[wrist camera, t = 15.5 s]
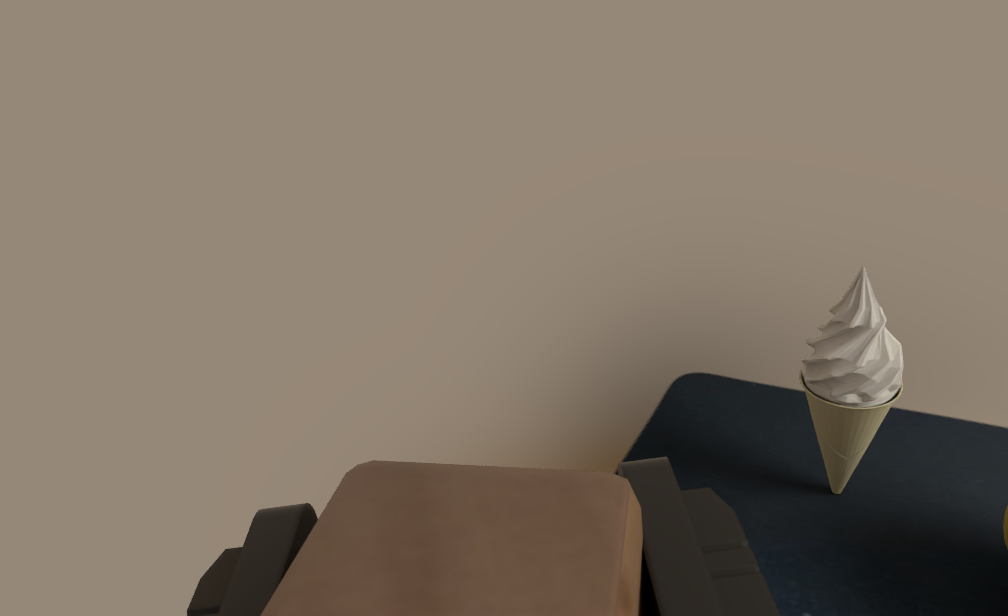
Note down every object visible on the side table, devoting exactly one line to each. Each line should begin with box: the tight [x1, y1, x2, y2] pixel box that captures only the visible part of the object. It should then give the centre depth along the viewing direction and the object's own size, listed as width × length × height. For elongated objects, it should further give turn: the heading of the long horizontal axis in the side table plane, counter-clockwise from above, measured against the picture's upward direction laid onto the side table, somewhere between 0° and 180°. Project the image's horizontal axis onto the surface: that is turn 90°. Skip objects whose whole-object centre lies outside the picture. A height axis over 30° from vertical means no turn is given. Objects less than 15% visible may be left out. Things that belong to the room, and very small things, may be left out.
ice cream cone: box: [799, 266, 903, 494], centre depth 39 cm, size 5×5×15 cm
